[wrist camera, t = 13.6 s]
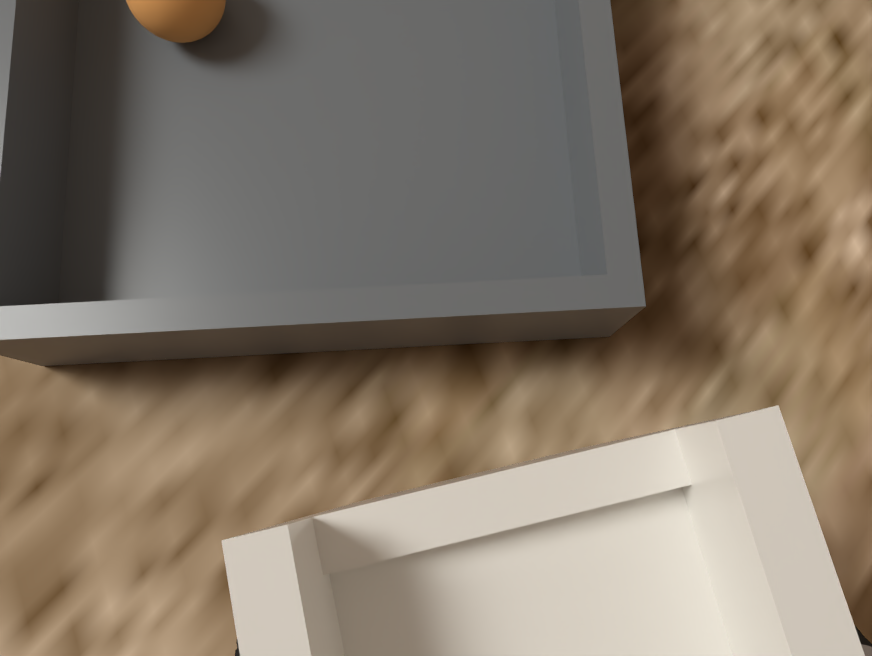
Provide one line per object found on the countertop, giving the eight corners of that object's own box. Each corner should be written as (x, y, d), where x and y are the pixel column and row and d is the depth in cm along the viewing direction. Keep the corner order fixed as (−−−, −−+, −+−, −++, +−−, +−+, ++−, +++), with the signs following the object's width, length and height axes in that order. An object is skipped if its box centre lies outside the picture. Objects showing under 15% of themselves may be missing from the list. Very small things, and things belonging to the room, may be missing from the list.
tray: (42, 366, 24) (-49, 342, 20) (76, -112, 28) (7, -220, 24) (609, 336, 24) (646, 306, 19) (559, -140, 28) (580, -253, 24)
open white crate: (640, 682, 15) (1010, 1075, 5) (409, 741, 15) (337, 1264, 5) (575, 449, 16) (777, 405, 6) (360, 501, 16) (221, 539, 6)
